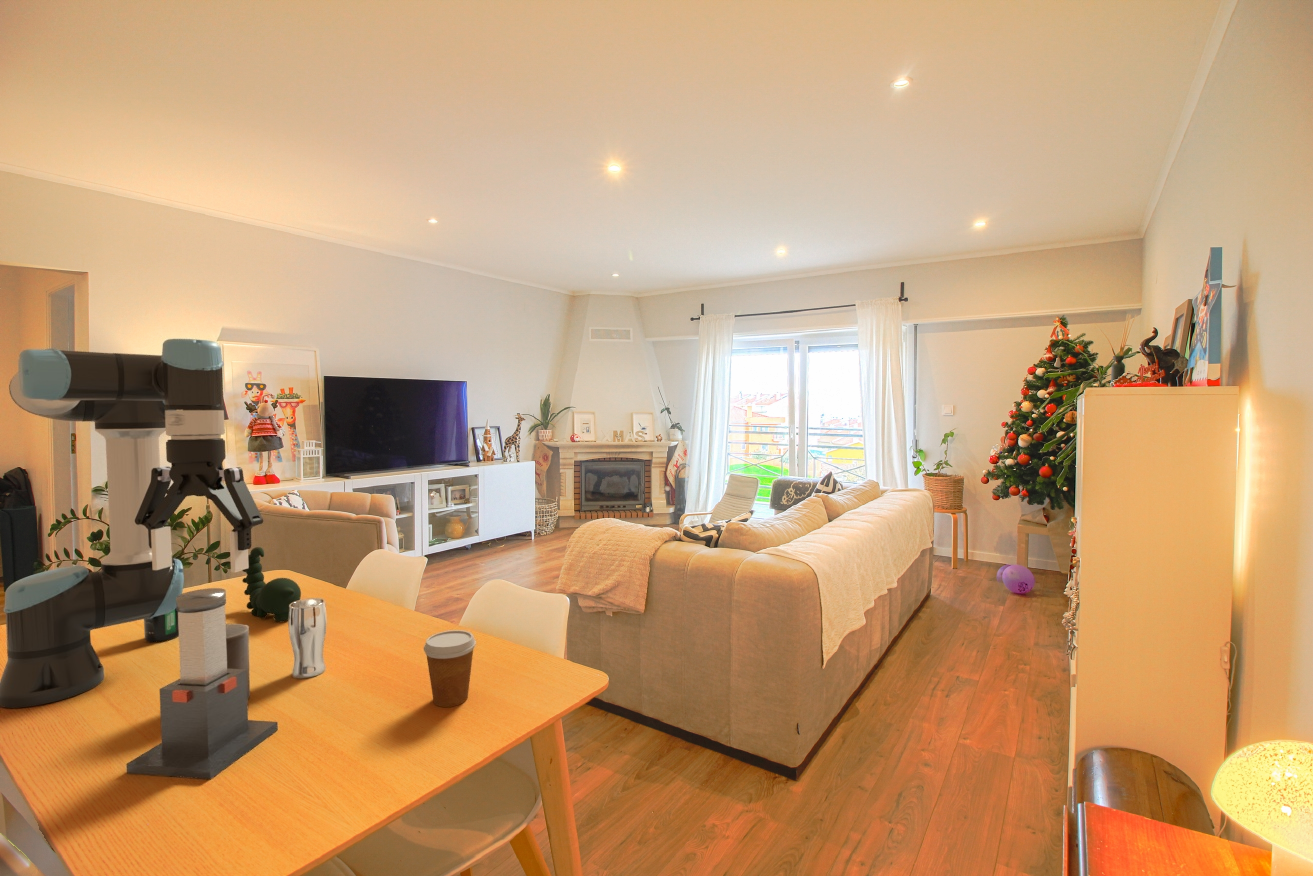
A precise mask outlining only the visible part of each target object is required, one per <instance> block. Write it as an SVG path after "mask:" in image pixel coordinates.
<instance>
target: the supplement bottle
mask: <svg viewBox="0 0 1313 876" xmlns="http://www.w3.org/2000/svg"><path fill="white" fill-rule="evenodd" d="M143 628H144V629H143V630H144V631H143V632H144V640H145V642H146V643H151V642H156V643H163V642H168V641H171V640H173V639H177V638H179V626H178V612H177V607H176V608H175V609H174V610H173V611H172V612H170V613H167V614H163V615H159V616H155V617H153V618H151V619H143ZM167 640H168V641H167ZM162 641H163V642H162Z"/></svg>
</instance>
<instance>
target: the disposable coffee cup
mask: <svg viewBox="0 0 1313 876" xmlns="http://www.w3.org/2000/svg"><path fill="white" fill-rule="evenodd" d="M476 644H477V641H476V638H475V637H474V634H473V633H472V632H471V631H467V630H463V629H462V630H460V629H455V630H454V629H452V630H451V629H450V630H445V631H441V632H437V633H435V634H433V635H430V636H429V637H428V638H426V640H425V644H424V645H423V652H424V654H425V655H426V661H427V662H426V663H427V667H428V675H429V681H430V687H431V694H432V701H433V704H434V705H435V706H437V707H440V708H450V707H455V706H459V705H461V704H463V703H465V702H466V701H467V700H468V698H469V691H470V681H471V672H472V665H473V663H472V662H473V657H474V655H473V654H474V649H475V646H476Z"/></svg>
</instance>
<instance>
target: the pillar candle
mask: <svg viewBox="0 0 1313 876" xmlns="http://www.w3.org/2000/svg"><path fill="white" fill-rule="evenodd" d="M249 628H250V626H249V625H247V624H241V623H230V624H226V650H227V668H228V669H246V676H247V701H248V700H249V699H250V697H251V696H250V694H251V693H250V692H251V691H250V690H251V689H250V687H251V686H250V681H251V680H250V646H249V645H250V641H249V640H250V637H249V635H250V633H249V631H250V629H249ZM249 696H250V697H249Z"/></svg>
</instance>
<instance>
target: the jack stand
mask: <svg viewBox="0 0 1313 876" xmlns="http://www.w3.org/2000/svg"><path fill="white" fill-rule="evenodd" d="M159 707H160V708H159V709H160V710H159V711H160V713H159V715H160V734H161V742H160V743H159V744H157V745H156V746H153V747H152V748H151V749H149V750H147V751H145V752H144V753H142V754H140V755H138V756H137V757H135V758H134V759H132V760H130V761H129V762H128V763H126V774H129V775H130V774H132V775H142V774H145V775H144V776H156V775H163V776H162V777H170V776H172V777H173V778H186V779H197V780H212V779H213V778H215V777H217V775H218V774H221V773H222V772H223V771H224V770H226V769H227V768H228V767H230V766H231V765H233V764H234V763H235V762H236V761H238V760H239V759H241V757H244V756H245V755H246V754H247V753H249V752H250V751H252V750H253V749H254V748H255V747H257V746H258V745H260V744H261V743H263V742H264V741H265V740H266V739H269V737H271V736H272V735H273V734H275V733H276V732H277V731H278V728H279V727H278V721H270V720H269V721H267V720H253V719H251V720H250V719H249V712H248V711H249V710H248V700H247V676H246V669H228V668H227V675H226V676H224V677H222V678H221V679H219V680H217V681H215V682H213V683H211V684H210V685H208V686H206V687H202V686H184V685H181V678H179V679H176V680H174V681H172V682H171V683H169V684H166V685H164V686H162V687H160V688H159Z"/></svg>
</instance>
